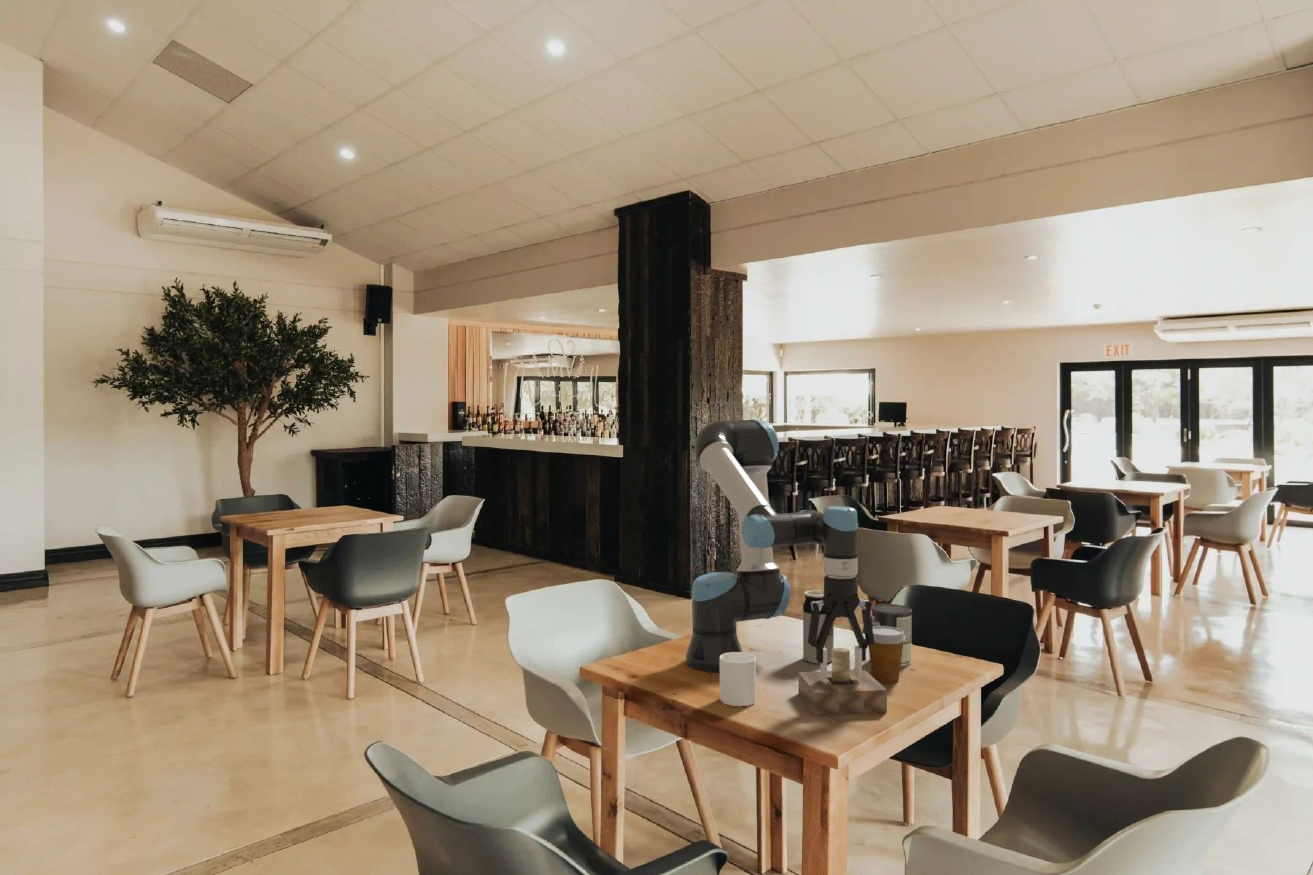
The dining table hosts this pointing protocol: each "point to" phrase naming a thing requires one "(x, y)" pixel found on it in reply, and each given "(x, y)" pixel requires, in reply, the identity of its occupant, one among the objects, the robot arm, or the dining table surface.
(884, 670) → the disposable coffee cup
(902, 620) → the coffee can
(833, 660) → the peg
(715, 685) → the dining table surface
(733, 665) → the cup
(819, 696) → the board
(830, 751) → the dining table surface
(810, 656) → the travel mug
